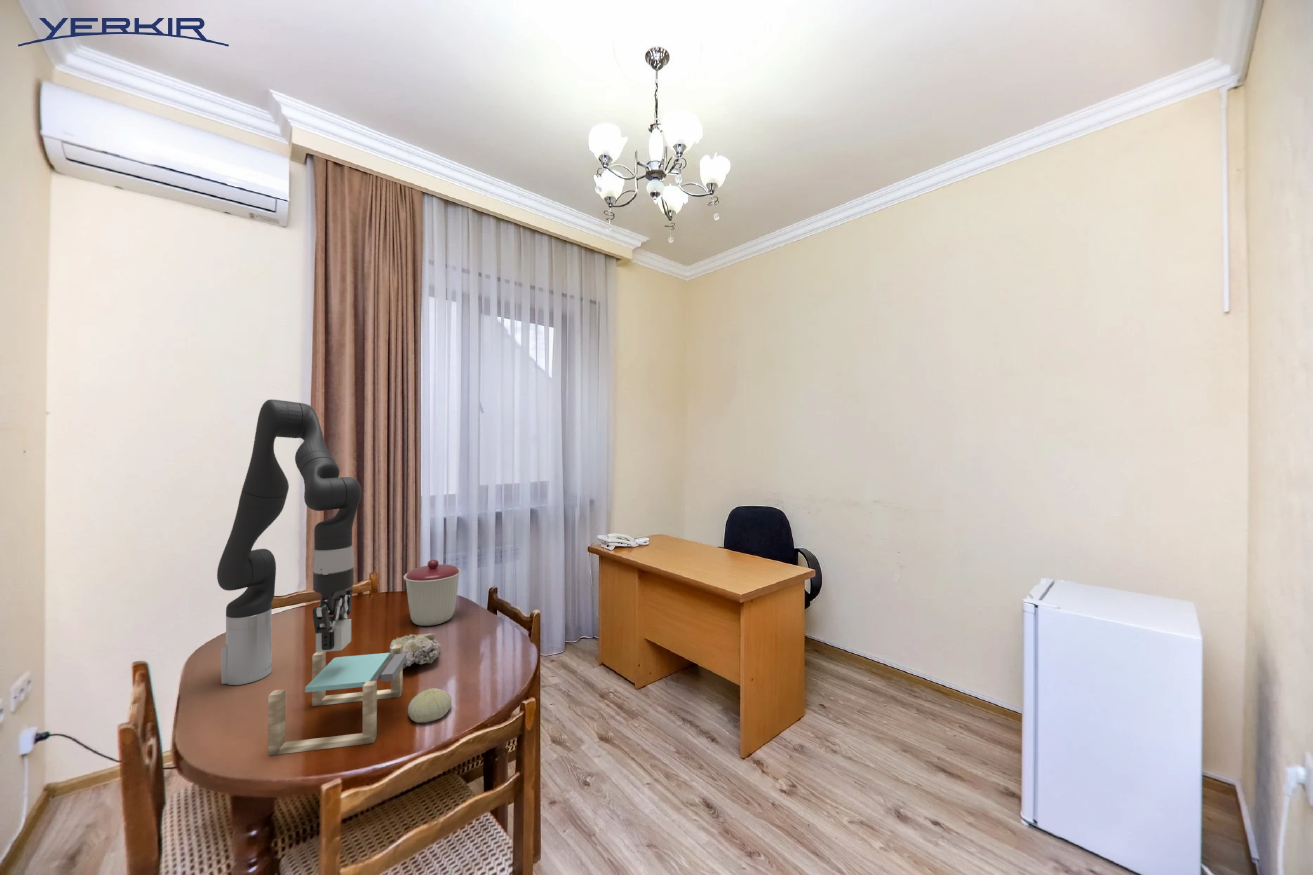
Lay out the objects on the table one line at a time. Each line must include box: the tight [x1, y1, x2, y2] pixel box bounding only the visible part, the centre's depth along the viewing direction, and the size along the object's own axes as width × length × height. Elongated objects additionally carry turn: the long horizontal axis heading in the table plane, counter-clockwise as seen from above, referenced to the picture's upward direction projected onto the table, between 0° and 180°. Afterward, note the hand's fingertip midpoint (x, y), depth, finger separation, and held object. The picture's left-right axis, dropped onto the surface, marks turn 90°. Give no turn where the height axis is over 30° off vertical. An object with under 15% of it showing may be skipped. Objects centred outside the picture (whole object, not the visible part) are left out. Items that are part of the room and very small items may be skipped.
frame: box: [267, 645, 404, 757], centre depth 107 cm, size 19×20×12 cm
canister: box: [403, 559, 462, 627], centre depth 166 cm, size 18×18×21 cm
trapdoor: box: [304, 652, 406, 693], centre depth 108 cm, size 16×14×2 cm
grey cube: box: [315, 618, 352, 653], centre depth 107 cm, size 5×5×5 cm
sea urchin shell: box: [407, 687, 452, 724], centre depth 110 cm, size 9×8×8 cm
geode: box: [389, 633, 442, 669], centre depth 136 cm, size 17×9×15 cm
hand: (333, 643), depth 106 cm, fingers closed on grey cube, 5 cm apart
